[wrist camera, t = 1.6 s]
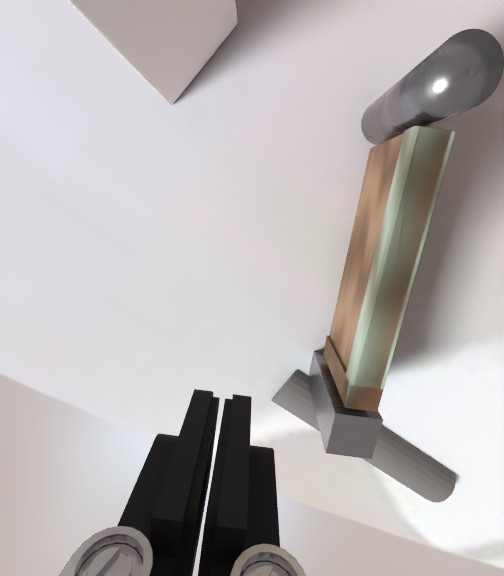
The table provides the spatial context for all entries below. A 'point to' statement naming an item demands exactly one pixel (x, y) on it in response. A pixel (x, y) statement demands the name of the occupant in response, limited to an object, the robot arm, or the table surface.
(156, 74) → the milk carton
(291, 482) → the table surface
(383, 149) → the wooden board
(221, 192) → the table surface
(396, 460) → the half round rod
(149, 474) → the robot arm
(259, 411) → the table surface
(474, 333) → the table surface
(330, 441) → the gate posts
